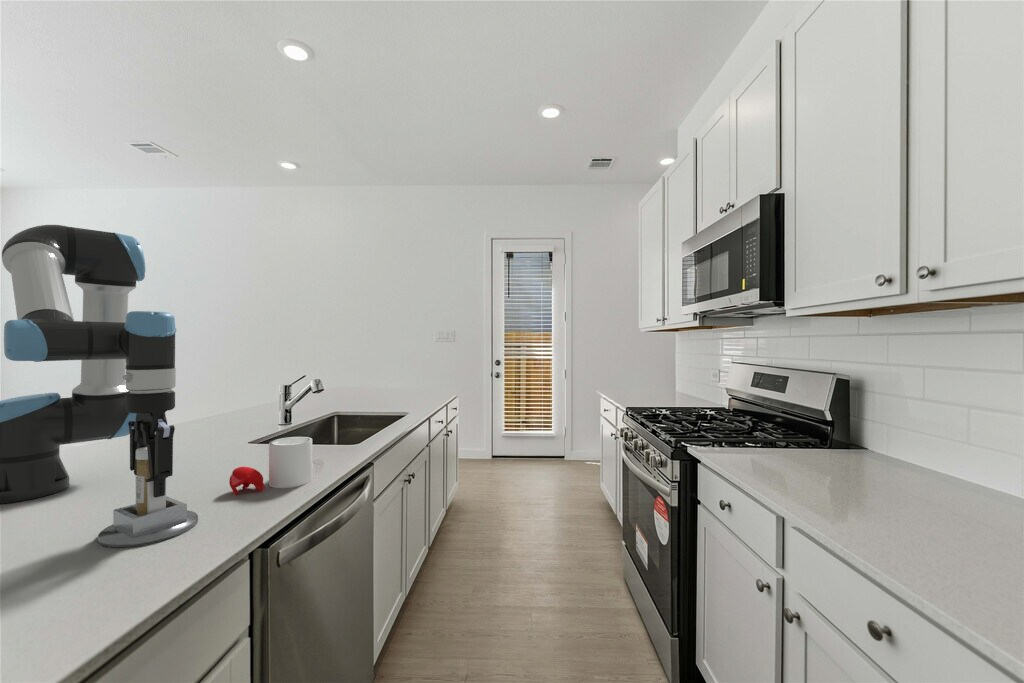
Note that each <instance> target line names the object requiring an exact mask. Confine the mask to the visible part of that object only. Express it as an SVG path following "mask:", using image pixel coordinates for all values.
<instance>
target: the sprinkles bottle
mask: <svg viewBox="0 0 1024 683" xmlns="http://www.w3.org/2000/svg"><path fill="white" fill-rule="evenodd" d="M136 459H137V460H136V461H137V475H135V503H136V502H137V515H136V516H140V515H143V514H147V482H146V480H145V479H149V478H150V472H149V461H148V451H147V447H142V448H139V449H137V450H136Z"/></svg>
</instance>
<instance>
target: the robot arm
mask: <svg viewBox="0 0 1024 683" xmlns="http://www.w3.org/2000/svg"><path fill="white" fill-rule="evenodd" d="M1 260H2V265H3V267H4V268H5V270H6V271H8V273H9V274H10V276H11V281H12V287H13V288H12V289H13V297H14V304H15V313H16V319H11V320H6V322H5V323H4V326H3V349H4V351H3V353H4V356H5V358H6V359H7V360H10V361H13V362H34V363H40V362H56V361H58V362H60V361H62V362H63V361H80V362H81V363H80V364H81V367H80V369H81V370H80V383H79V384H77V386H76V387H74V388H72V390H71V397H61V395H60V393H59V392H47V393H37V394H29V395H23V396H16V397H11V398H6V399H2V400H0V504H8V503H9V504H10V503H15V502H23V501H28V500H33V499H38V498H43V497H46V496H50V495H53V494H56V493H59V492H62V491H64V490H66V489H67V488H69V487H70V475H69V473H68V471H67V469H66V467H65V465H64V463H63V461H62V458H61V456H60V447H61V446H62V445H69V444H70V445H71V444H76V443H77V444H78V443H85V442H94V441H100V440H101V441H102V440H112V439H115V438H122V437H127V436H129V470H130V471H133V475H134V476H136V475H137V461H136V460H137V459H136V450H137V449H139V448H142V447H147V451H148V461H149V472H150V478H149V479H145V480H146V482H147V513H151V512H154V511H158V510H161V509H165V508H166V496H167V478H168V477H173V475H174V474H173V471H174V470H173V466H174V465H173V463H174V458H173V457H174V434H175V430H176V427H175V425H174V424H172V425H168V420H167V416H166V412H167V411H172V410H174V409H175V407H176V392H175V391H174V390H173V389H174V388H175V387H176V385H177V384H176V375H177V374H176V332H177V328H176V320H175V316H174V314H172V313H171V312H166V311H164V312H163V311H149V310H148V311H145V310H144V311H142V310H140V311H138V310H137V311H136V310H134V311H129V310H128V309H129V307H128V306H129V293H131V292H132V291H133V290H135V289H136V288H137V282H141V281H144V280H145V277H146V261H145V256H144V250H143V247H142V246H141V243H140V241H139V240H138V239H137V238H135V237H134V236H130V235H126V234H121V233H117V232H110V231H102V230H95V229H89V228H81V227H72V226H67V225H60V224H42V225H35V226H32V227H29V228H27V229H24V230H21V231H19V232H18V233H17V232H16V233H15V234H14V235H13V236H12V237H10V238H9V239H8V240H7V241H6V242H5V244H4V245H3V248H2V250H1ZM63 275H64V276H65V275H67V276H74V284H76V285H77V286H78V287H80V288H81V290H82V321H80V320H79V321H78V320H75V318H74V316H73V312H72V307H71V303H70V300H69V296H68V292H67V288H66V285H65V280H64V277H63ZM135 504H136V510H137V502H136V501H135Z"/></svg>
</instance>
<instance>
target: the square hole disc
mask: <svg viewBox="0 0 1024 683" xmlns="http://www.w3.org/2000/svg"><path fill="white" fill-rule="evenodd" d="M187 508H188V504H187V503H185V502H183V501H180V500H178V499H175V498H172V497H169V496H167V495H166V508H165V509H161V510H158V511H154V512H151V513H147V514H143V515H140V516H136V515H137V510H136V503H135V504H130V505H127V506H124V507H119V508H115V509H113V511H112V512H113V514H112V520H113V522H112V523H113V524H110V525H108V526H107V527H105V528H104V529H102V530H101V531H100V532H99V533H98V536H97V543H98V545H99V546H101V547H104V548H108V547H110V549H126V548H127V547H128V548H133V547H134V548H136V547H140V546H141V547H142V546H147V545H151V544H156V543H160V542H163V541H166V540H170V539H173V538H176V537H178V536H180V535H183V534H184V533H186V532H188V531H190V530H192V529H193V528H195V526H196V525H198V523H199V522H198V521H199V520H198V519H199V517H198V516H199V515H198V514H197V512H195V511H193V510H188V509H187ZM125 547H126V548H125Z"/></svg>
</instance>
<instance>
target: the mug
mask: <svg viewBox="0 0 1024 683" xmlns="http://www.w3.org/2000/svg"><path fill="white" fill-rule="evenodd" d="M312 481H313V438H311V437H309V436H291V437H290V436H289V437H282V438H277V439H273V440H270V441H269V442H268V486H269V487H272V488H275V489H290V488H296V487H300V486H301V487H302V486H304V485H307V484H308V483H310V482H312Z"/></svg>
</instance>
